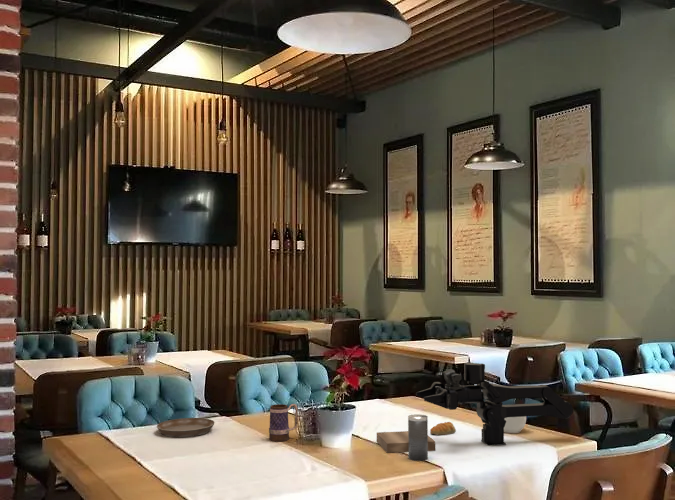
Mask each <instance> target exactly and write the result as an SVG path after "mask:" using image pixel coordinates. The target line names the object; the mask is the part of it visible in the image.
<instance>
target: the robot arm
mask: <svg viewBox="0 0 675 500" xmlns="http://www.w3.org/2000/svg"><path fill="white" fill-rule="evenodd" d="M463 369H464V371H463V372H464V374H463V375H464V381H466V382H467V384H468V385H461V384H460V382H461V380H462V379H463V377H462V375H461V374H460V373H457V372H456V371H455V370H454V369H453V368H450V369H447V370H445V371H443V372H441V374H442V376H443V378H444V381H445V384H443V383H442V382H440V381H434V382H433V383H432V384H431V386H430V387H429V388H426V389H423V390H420V391H417V392H415V396H417V397H420V398H423V400H424V401H425V402H427V403H429V404H433V405H435V406H439V407H441V408H443V409H447V410H450V411H452V410H453V411H454V410H455V411H456V409H457V408H459V404H460V405H461V406H462V405H466V404H472V403H473V404H475V403H476V415H477V417H478V418H480V419H481V420H480V421H481V422H482V423H483V424H482V428H481V443H483V444H484V445H486V446H502V445H503V446H504V445H505V446H506V445H507V443H506V442H505V432H504V427H505V424H506V420H505V418H507V417H525V416H526V417H538V416H539V417H542V416H543V417H545V416H547V417H553V418H557V419H564V420H565V419H566V420H567V419H568V418H570V417H571V416H572V414H573V411H574V408H573V405H572V403H570V401H566V400H564V399H563V398H562V397H560V395H558V394H557V393H556V392H555V391H554V390H553V389H552V388H551V387H550V386H548V385H546V384H538V385H513V386H512V385H511V386H508V385H501V384H497V383H491V382H489V381H487V380H486V379H485V377H486V376H485V375H486V374H485V371H486V370H485V369H486V365H485V364H484V363H479V362H478V363H477V362H475V363H474V362H464V368H463ZM532 398H533V399H534V398H535V399H536V398H537V399H538V398H541V399H542V400H543V402H539V403H536V402H535V403H517V404H516V403H515V404H503V403H504V402H507V401H509V400H513V399H515V400H516V399H532Z"/></svg>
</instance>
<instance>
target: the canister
mask: <svg viewBox="0 0 675 500" xmlns="http://www.w3.org/2000/svg"><path fill="white" fill-rule="evenodd" d="M407 420H408V421H407V428H408V429H407V431H408V452H407V453H408V458H407V459H409V460H410V461H413V462H414V461H415V462H424V461H427V460H428V458H429V455H428V454H429V451H428V436H429V433H428V430H429V429H428V424H429V423H428V420H429V419H428V415H426V414H420V413H419V414H409V415H407Z"/></svg>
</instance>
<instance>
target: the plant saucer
mask: <svg viewBox="0 0 675 500" xmlns="http://www.w3.org/2000/svg"><path fill="white" fill-rule="evenodd" d="M215 423H216V422H215V420H214V419H213V420H212V419H210V418H204V417H203V418H202V417H184V418H175V419H170V420H169V419H168V420H165V421H162V422H159V423H158V424H157V425H156V428H157V430H158V431H159V432H160V434H162V435H163V436H166V437H171V438H191V437H192V438H193V437H196V436H202V435H205V434H207V433H208V432H210V430H212V428H213V426H215Z"/></svg>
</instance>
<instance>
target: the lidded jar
mask: <svg viewBox="0 0 675 500" xmlns="http://www.w3.org/2000/svg"><path fill="white" fill-rule="evenodd" d="M505 420H506V424H505V427H504V433H507V434H520V433H521V431H522V430H523V429H524V428H525V426H526V423H527V416H525V417H507V418H505Z"/></svg>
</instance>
